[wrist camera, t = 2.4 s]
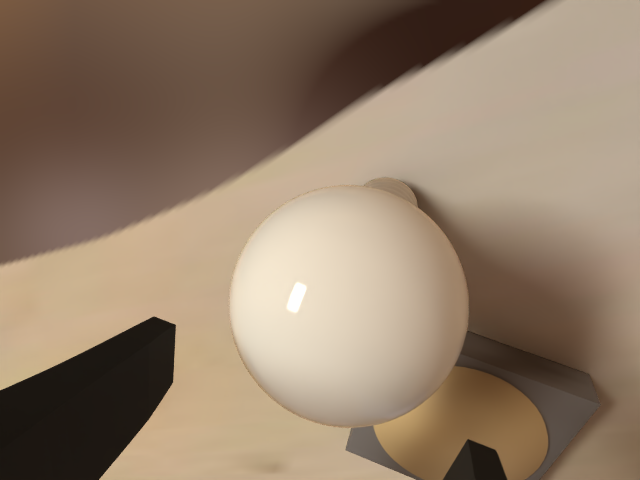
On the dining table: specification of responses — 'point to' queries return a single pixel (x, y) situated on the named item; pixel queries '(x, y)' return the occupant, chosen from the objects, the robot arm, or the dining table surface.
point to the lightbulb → (349, 304)
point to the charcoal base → (486, 415)
